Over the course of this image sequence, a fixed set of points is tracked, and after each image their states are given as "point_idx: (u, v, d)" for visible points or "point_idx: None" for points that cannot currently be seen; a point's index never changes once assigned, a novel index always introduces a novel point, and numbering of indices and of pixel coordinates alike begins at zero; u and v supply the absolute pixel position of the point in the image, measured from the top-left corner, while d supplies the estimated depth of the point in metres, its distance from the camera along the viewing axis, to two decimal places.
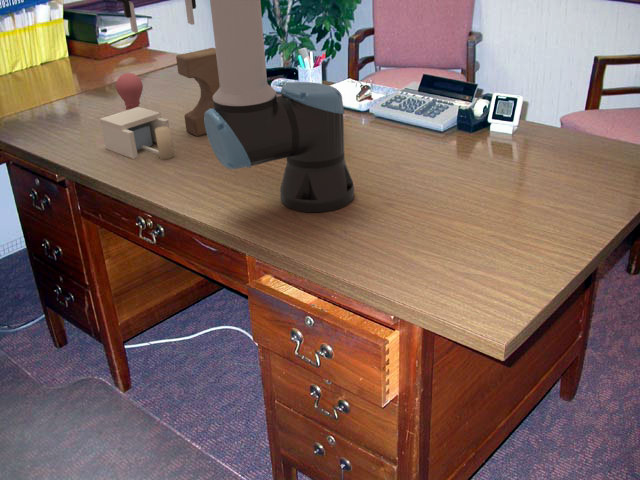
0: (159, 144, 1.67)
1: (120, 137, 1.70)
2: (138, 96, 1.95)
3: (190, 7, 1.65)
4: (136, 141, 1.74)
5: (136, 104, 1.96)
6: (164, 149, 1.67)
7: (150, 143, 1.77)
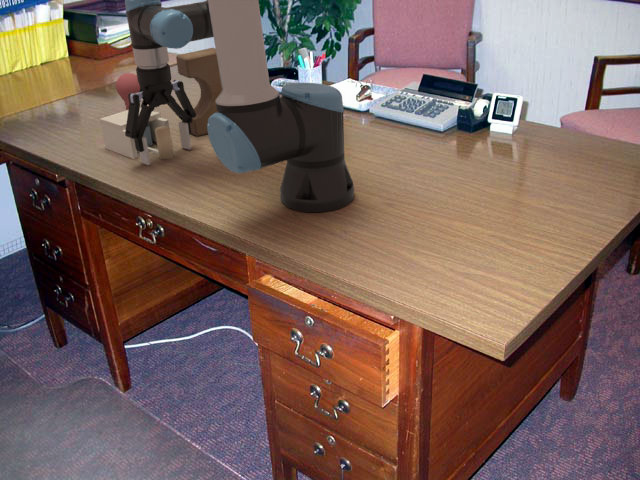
0: (159, 144, 1.67)
1: (120, 137, 1.70)
2: None
3: (187, 134, 1.71)
4: None
5: None
6: (164, 149, 1.67)
7: (150, 143, 1.77)
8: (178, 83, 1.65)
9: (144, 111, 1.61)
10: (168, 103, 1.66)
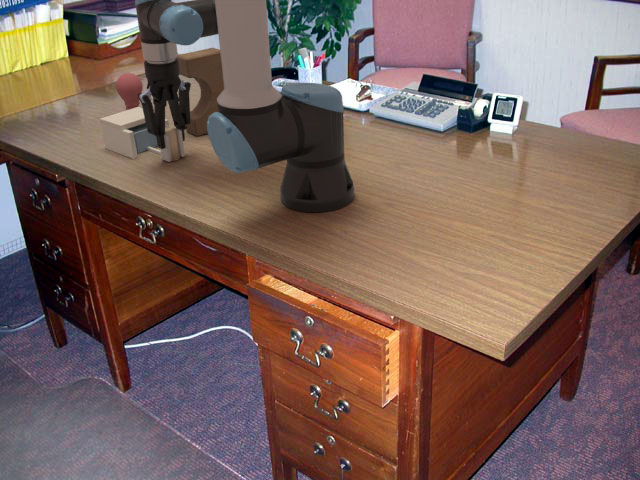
0: None
1: (120, 137, 1.70)
2: None
3: (181, 141, 1.67)
4: (142, 142, 1.72)
5: (136, 104, 1.96)
6: (170, 150, 1.66)
7: (156, 144, 1.76)
8: (186, 83, 1.63)
9: (158, 108, 1.60)
10: (170, 101, 1.62)
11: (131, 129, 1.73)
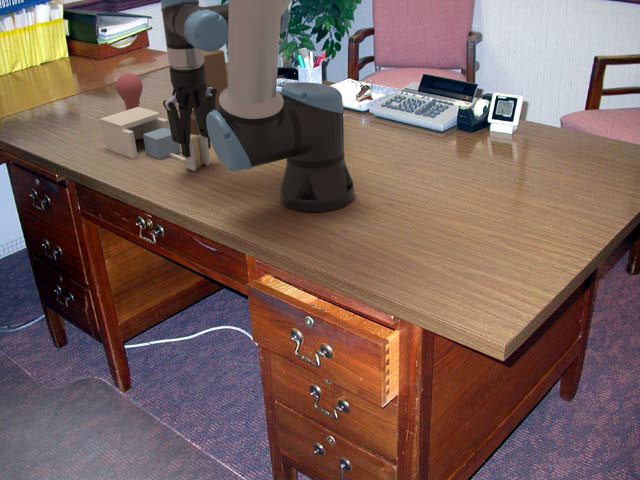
0: None
1: (120, 137, 1.70)
2: (138, 96, 1.95)
3: (207, 149, 1.61)
4: (164, 148, 1.68)
5: (136, 104, 1.96)
6: None
7: (178, 151, 1.71)
8: (212, 89, 1.57)
9: (183, 116, 1.54)
10: (196, 108, 1.57)
11: (153, 135, 1.69)
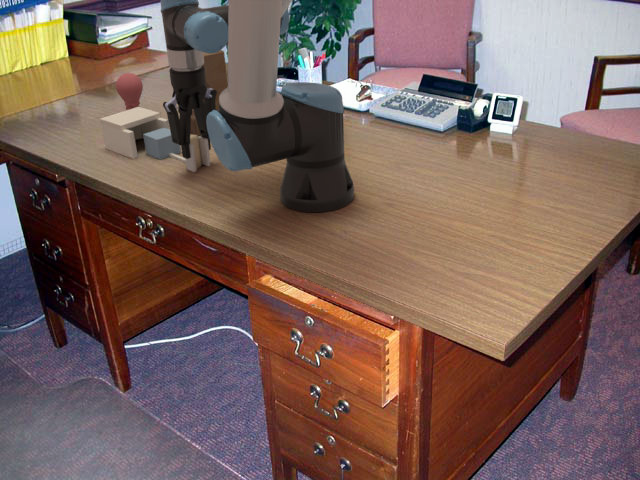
0: None
1: (120, 137, 1.70)
2: (138, 96, 1.95)
3: (207, 150, 1.61)
4: (164, 149, 1.68)
5: (136, 104, 1.96)
6: None
7: (178, 151, 1.71)
8: (212, 90, 1.57)
9: (183, 117, 1.54)
10: (196, 109, 1.57)
11: (153, 135, 1.69)
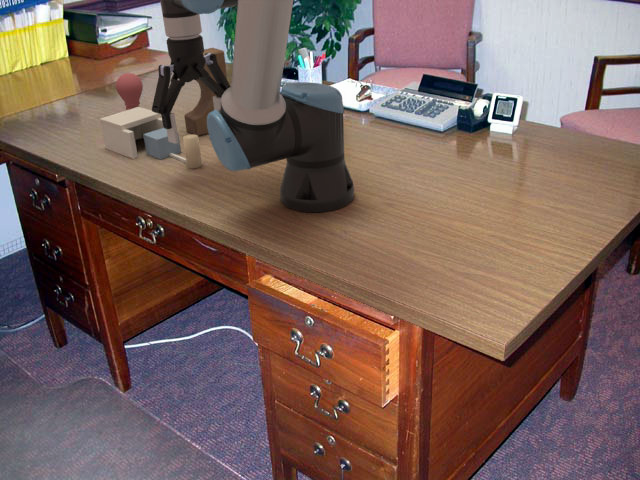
0: (187, 153, 1.61)
1: (120, 137, 1.70)
2: (138, 96, 1.95)
3: None
4: (164, 149, 1.68)
5: (136, 104, 1.96)
6: (191, 158, 1.61)
7: (179, 151, 1.71)
8: (211, 56, 1.53)
9: (174, 85, 1.49)
10: (201, 78, 1.54)
11: (153, 135, 1.69)
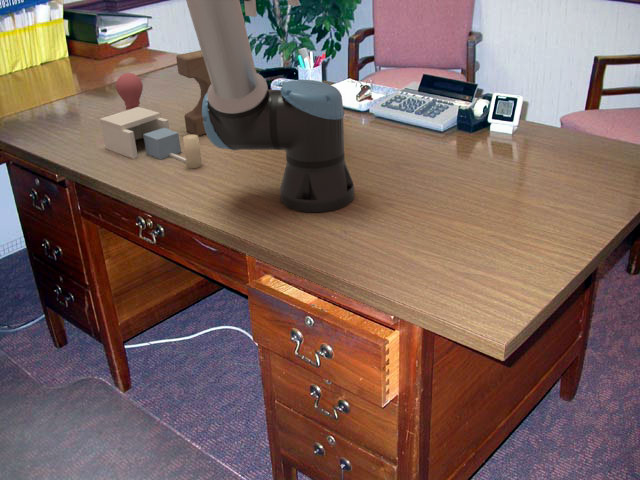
0: (187, 153, 1.61)
1: (120, 137, 1.70)
2: (138, 96, 1.95)
3: None
4: (164, 149, 1.68)
5: (136, 104, 1.96)
6: (191, 158, 1.61)
7: (179, 151, 1.71)
8: None
9: None
10: None
11: (153, 135, 1.69)
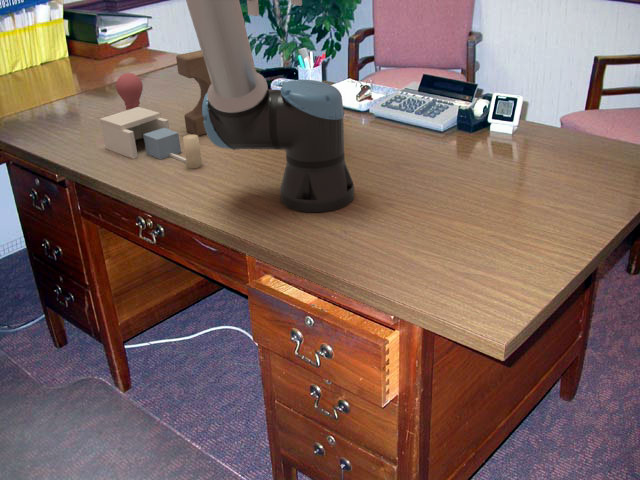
0: (187, 153, 1.61)
1: (120, 137, 1.70)
2: (138, 96, 1.95)
3: None
4: (164, 149, 1.68)
5: (136, 104, 1.96)
6: (191, 158, 1.61)
7: (179, 151, 1.71)
8: None
9: None
10: None
11: (153, 135, 1.69)
